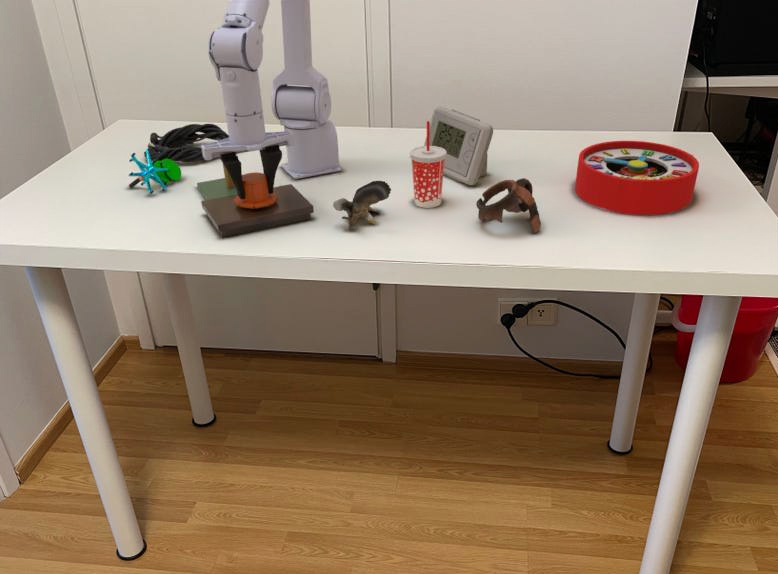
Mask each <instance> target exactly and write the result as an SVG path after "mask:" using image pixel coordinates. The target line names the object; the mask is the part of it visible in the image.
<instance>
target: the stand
mask: <svg viewBox="0 0 778 574" xmlns="http://www.w3.org/2000/svg"><path fill="white" fill-rule="evenodd" d="M273 192H274V193H275V194H276V195H277V196H278V200H277V201H276V202H275V203H273V204H272V205H269V206H266V207H261V208H256V209H255V208H253V209H251V208H243V207H240V206H238V205H237V204H236V203H235V202H234V198H235V197H237V196H238V194H236V195H231V196H225V197H220V198H215V199H209V200H206V199H204V200H201V201H200V203H201V204H200V205H201V207H202V210H203V211H204V212H205V214H206V216H207V217H208V218H209V220H210V222H211V223H212V224H213V227H215V229H216V230H217V232H218V233H219V235H220V236H221V238H223V239H224V238H227V237H232V236H237V235H241V234H247V233H252V232H256V231H262V230H266V229H270V228H276V227H280V226H285V225H291V224H295V223H300V222H304V221H309V220H311V214H314V213H315V210H314V205H313V204H312V203H311V202H310V201H309V200H308V199H307V198H306V197H305V196H304V194H302V193H301V192H300V191H299V190H298V189H297V188H296V187H295V186H294V185H293V184H292V183H289V184H285V185H278V186H274V187H273Z"/></svg>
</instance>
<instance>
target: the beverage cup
mask: <svg viewBox="0 0 778 574" xmlns="http://www.w3.org/2000/svg"><path fill="white" fill-rule="evenodd" d="M430 123H431V120H427V121H426V137H427V146H424V145H421V146H416V147H414V148H411V149H410V151H409V158H410V159H411V172H412V173H411V174H412V187H413V199H414V204H415V206H417V207H418V208H419V207H420V208H425V209H432V208H436V207H439V206H440V205H441V204H442V199H443V198H442V195H443V184H444V174H443V172H444V160H445V158H446V150H445V149H443V148H441V147H437V146H430Z"/></svg>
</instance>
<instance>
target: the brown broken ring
mask: <svg viewBox="0 0 778 574" xmlns="http://www.w3.org/2000/svg"><path fill="white" fill-rule="evenodd" d="M506 190H507V194H506V195H505V196H503V197H502V198H500V200H498V201H496V202H493V203H491V204H488V202H489V201H490V200H491V199H492V198H493V197H495V196H497V195H498V194H500V193H502V192H505V191H506ZM533 192H534V191H533V185H532V183H531V181H530V180H529V179H528V178H525V177H523V178H519V179H517V180H514V179H505V180H502V181H499V182H497V183H495V184H493V185H491V186H490V187H488V188H487V189H486V190H485V191H484V192H483V193H482V194H481V196H482V197H483V199H482V198H481V197H480V198H478V200H477V201H476V202H475V205H476V208H477V209H478V212H477V214H478V215H477V218H478V220H479V221H481V222H491V221H497V222H499V223H503V214H504V210H505V211H506V212H508V213H515V214H519V213H526V212H527V211H528V213H529V219H530V222H529V224H530V226H531V227H532V233H533V234H537V232H538V231H539V230H540V228H541V224H542V223H541V218H540V213H539V210H538V205H537V202H536V199H535V197H534V196H533ZM486 204H487V205H486Z"/></svg>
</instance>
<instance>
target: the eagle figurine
mask: <svg viewBox="0 0 778 574" xmlns="http://www.w3.org/2000/svg"><path fill="white" fill-rule="evenodd" d="M391 191H392V188H391V187H390V185H389V184H388V182H386V181H383V180H372V181H371V182H369V183H367V184H365V185H363V186H361V187H359V188H357V189H356V191H355V194H354V195H353V197H352V201H349V200H348V199H347V198H345V197H342V198H339V199H337V200H334V202H333V204H332V206H333V208H334V209H335V210H336V211H338V212H342V211H343V212H346V214H347V216H341V219H343V220H347V221H348V231H351V230H352V229H353V227H355V226H356V224H357V223H356V222H357V219H359V218H361V219H363V220H367V221H368V222H370V223H371V224H372V225H374V226H375V225H376V222H375V218H374V217H373V216H372V214H371V213H370V212H375V213H381V211H380V210H378V209H374V208H372V207H371V206H372V205H375V204H378V203H379V202H383V201H385V200H387V199H388V198H390V194H392V193H391Z"/></svg>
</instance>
